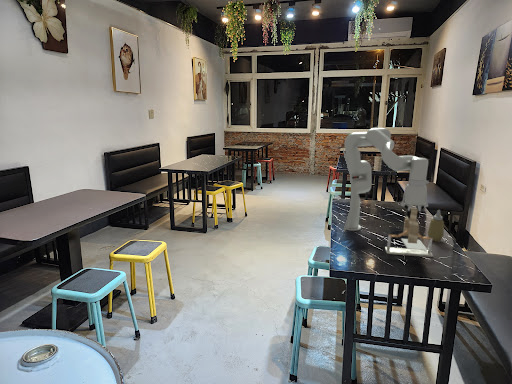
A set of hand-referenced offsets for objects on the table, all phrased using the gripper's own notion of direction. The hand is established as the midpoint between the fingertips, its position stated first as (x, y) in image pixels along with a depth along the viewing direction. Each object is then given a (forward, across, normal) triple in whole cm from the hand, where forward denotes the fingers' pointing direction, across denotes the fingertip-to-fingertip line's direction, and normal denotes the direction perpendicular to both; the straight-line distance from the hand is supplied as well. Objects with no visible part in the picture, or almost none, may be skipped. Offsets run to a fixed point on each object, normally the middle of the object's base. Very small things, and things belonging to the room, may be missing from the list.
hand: (412, 217), depth 166 cm
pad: (+20, -6, -12) cm, 24 cm away
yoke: (+12, 0, 0) cm, 12 cm away
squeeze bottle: (+20, -20, -22) cm, 36 cm away
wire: (+20, 0, 0) cm, 20 cm away
